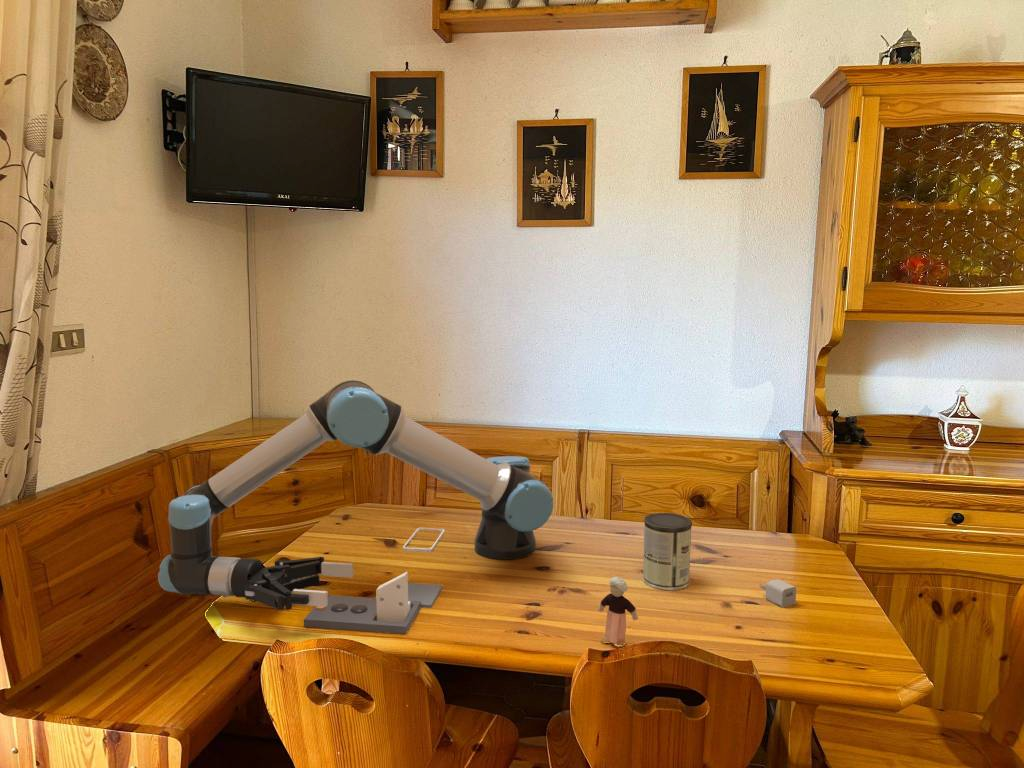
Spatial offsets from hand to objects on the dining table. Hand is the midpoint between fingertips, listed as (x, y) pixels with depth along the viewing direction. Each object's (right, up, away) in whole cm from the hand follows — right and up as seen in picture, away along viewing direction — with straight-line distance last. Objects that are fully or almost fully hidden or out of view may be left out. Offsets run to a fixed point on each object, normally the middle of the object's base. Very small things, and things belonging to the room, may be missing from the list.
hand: (340, 584), depth 142 cm
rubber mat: (+12, -5, +10) cm, 17 cm away
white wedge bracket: (+11, -7, 0) cm, 13 cm away
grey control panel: (+5, -7, 0) cm, 8 cm away
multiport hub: (-15, -5, +13) cm, 21 cm away
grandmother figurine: (+53, -9, -9) cm, 54 cm away
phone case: (+11, -1, +42) cm, 44 cm away
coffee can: (+68, -5, +19) cm, 70 cm away
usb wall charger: (+89, -6, +10) cm, 90 cm away
